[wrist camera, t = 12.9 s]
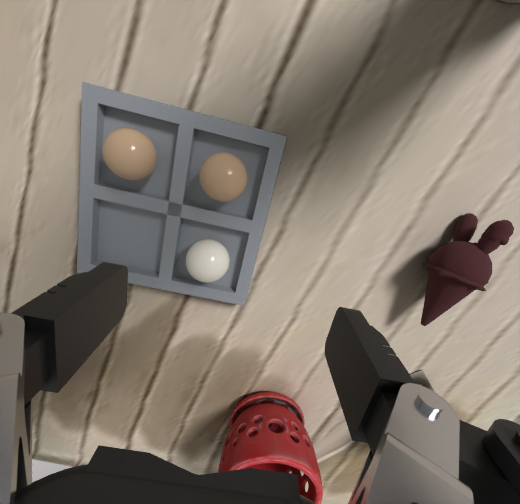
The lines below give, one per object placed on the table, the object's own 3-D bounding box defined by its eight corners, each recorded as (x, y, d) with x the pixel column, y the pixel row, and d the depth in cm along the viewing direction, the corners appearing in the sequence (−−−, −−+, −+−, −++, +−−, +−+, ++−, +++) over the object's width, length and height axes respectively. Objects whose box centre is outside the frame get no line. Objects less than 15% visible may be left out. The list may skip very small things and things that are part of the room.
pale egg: (235, 239, 33) (232, 252, 28) (227, 275, 35) (222, 294, 30) (194, 229, 33) (184, 242, 28) (188, 267, 34) (177, 285, 29)
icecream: (466, 347, 33) (540, 234, 30) (428, 337, 30) (505, 211, 27) (419, 316, 39) (476, 220, 36) (383, 305, 36) (442, 200, 33)
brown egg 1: (166, 136, 29) (150, 132, 24) (160, 183, 31) (144, 187, 26) (118, 124, 29) (92, 118, 24) (115, 172, 30) (90, 175, 25)
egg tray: (284, 138, 30) (286, 136, 28) (244, 296, 37) (244, 305, 35) (95, 87, 28) (82, 81, 26) (88, 265, 35) (76, 272, 32)
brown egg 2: (252, 158, 30) (252, 158, 25) (242, 202, 32) (241, 210, 27) (207, 147, 30) (199, 145, 25) (200, 192, 31) (191, 198, 26)
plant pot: (321, 399, 43) (346, 484, 32) (279, 451, 47) (288, 544, 35) (249, 368, 41) (248, 448, 29) (210, 425, 44) (196, 516, 33)
